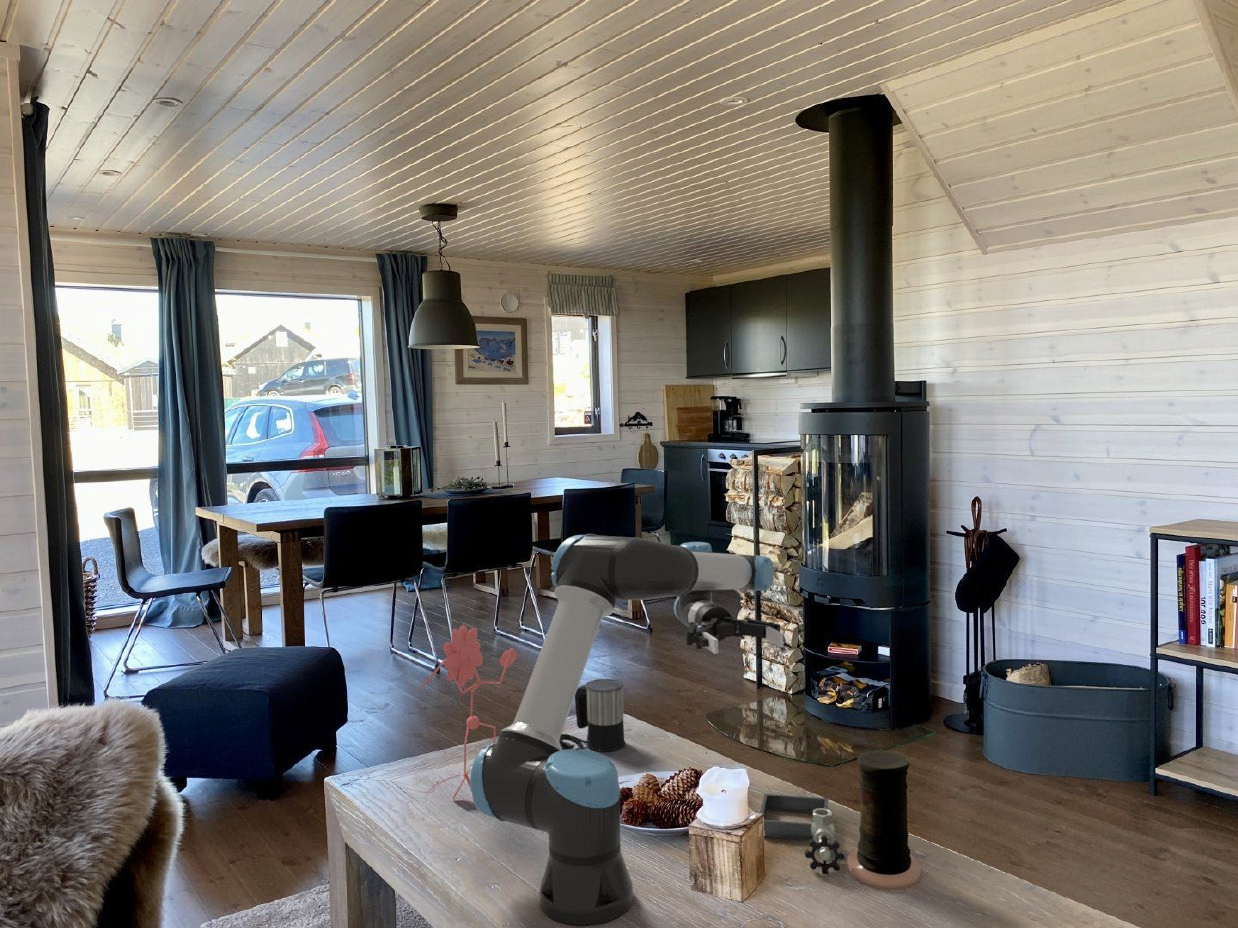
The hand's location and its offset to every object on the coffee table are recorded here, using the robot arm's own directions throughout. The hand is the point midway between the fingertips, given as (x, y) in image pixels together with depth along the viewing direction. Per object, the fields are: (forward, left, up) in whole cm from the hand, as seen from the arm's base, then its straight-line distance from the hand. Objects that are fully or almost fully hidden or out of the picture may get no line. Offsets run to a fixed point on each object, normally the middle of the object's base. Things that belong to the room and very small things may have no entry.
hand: (749, 643), depth 182 cm
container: (-20, -24, -32) cm, 45 cm away
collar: (-5, -8, -33) cm, 35 cm away
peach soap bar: (-20, -24, -33) cm, 46 cm away
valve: (-17, -14, -34) cm, 40 cm away
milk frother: (+27, +41, -34) cm, 59 cm away
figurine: (0, +61, -34) cm, 69 cm away
